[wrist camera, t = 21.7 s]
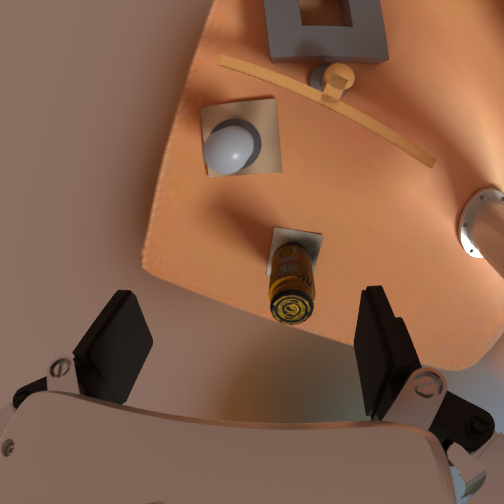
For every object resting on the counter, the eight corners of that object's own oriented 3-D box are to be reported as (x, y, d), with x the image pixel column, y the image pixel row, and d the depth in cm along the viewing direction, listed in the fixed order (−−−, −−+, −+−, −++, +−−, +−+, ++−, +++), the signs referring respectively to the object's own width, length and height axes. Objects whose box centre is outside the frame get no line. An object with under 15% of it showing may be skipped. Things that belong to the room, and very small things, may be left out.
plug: (261, 113, 34) (251, 117, 25) (267, 157, 37) (260, 178, 27) (216, 120, 35) (189, 127, 26) (223, 163, 38) (200, 185, 28)
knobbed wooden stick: (238, 27, 24) (235, 22, 22) (442, 129, 27) (449, 131, 25) (221, 66, 27) (217, 63, 25) (424, 164, 29) (432, 168, 27)
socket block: (363, -21, 23) (374, -38, 17) (380, 102, 32) (397, 102, 26) (260, -23, 25) (256, -42, 19) (276, 102, 34) (274, 101, 28)
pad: (275, 98, 34) (275, 98, 33) (282, 171, 38) (281, 172, 38) (200, 107, 35) (199, 107, 34) (210, 176, 40) (208, 178, 39)
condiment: (266, 275, 46) (259, 326, 36) (274, 226, 42) (269, 270, 32) (311, 281, 46) (316, 333, 36) (323, 234, 42) (334, 279, 31)
